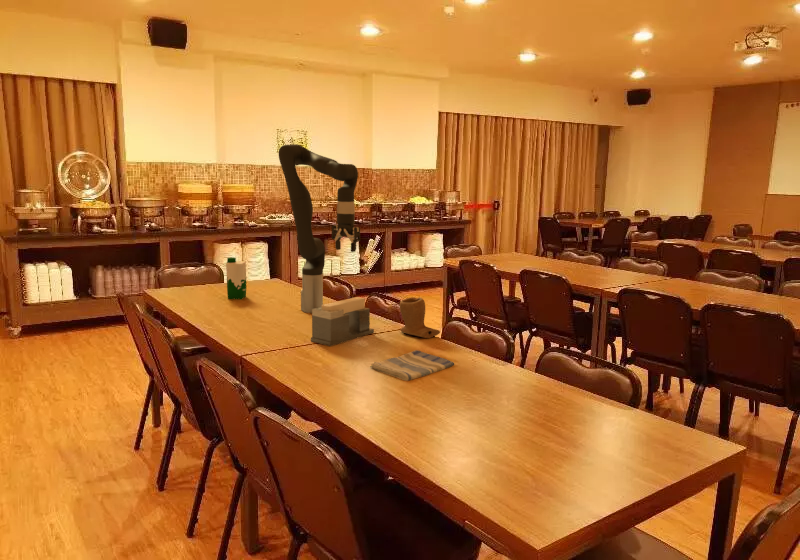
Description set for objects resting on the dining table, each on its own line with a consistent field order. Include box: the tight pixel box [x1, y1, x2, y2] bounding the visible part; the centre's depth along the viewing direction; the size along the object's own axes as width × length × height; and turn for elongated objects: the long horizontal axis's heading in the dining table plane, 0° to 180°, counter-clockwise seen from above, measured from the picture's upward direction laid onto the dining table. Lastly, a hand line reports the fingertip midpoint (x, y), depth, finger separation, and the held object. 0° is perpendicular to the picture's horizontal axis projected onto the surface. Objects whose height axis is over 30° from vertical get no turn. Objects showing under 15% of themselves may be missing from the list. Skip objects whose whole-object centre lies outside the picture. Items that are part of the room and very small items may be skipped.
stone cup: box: [398, 296, 441, 339], centre depth 240 cm, size 15×12×15 cm
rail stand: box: [310, 307, 375, 347], centre depth 235 cm, size 10×25×12 cm, turn 143°
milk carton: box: [225, 256, 247, 300], centre depth 301 cm, size 9×9×20 cm
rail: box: [322, 296, 366, 313], centre depth 235 cm, size 4×20×4 cm, turn 143°
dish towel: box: [370, 349, 455, 382], centre depth 202 cm, size 17×24×3 cm
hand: (345, 250), depth 258 cm, fingers open, 8 cm apart
